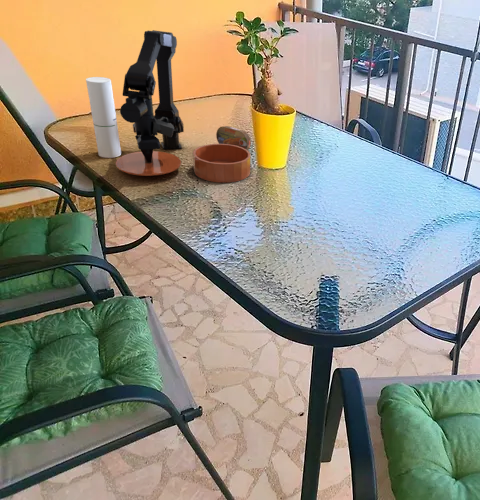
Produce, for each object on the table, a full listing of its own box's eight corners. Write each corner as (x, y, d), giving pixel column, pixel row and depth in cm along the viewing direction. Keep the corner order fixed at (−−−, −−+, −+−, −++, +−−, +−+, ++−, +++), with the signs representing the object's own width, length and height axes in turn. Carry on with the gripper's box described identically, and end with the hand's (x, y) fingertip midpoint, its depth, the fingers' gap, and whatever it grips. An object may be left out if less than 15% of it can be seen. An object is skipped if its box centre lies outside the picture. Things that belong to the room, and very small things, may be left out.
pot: (189, 162, 164) (188, 144, 160) (242, 159, 172) (242, 142, 168) (200, 184, 150) (199, 165, 146) (256, 180, 158) (257, 162, 155)
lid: (114, 155, 156) (111, 141, 153) (176, 152, 164) (174, 138, 162) (118, 179, 141) (115, 163, 139) (186, 175, 150) (185, 160, 147)
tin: (215, 145, 181) (215, 124, 176) (221, 143, 183) (221, 122, 179) (246, 155, 176) (247, 134, 171) (252, 153, 178) (252, 132, 174)
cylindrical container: (125, 152, 164) (115, 79, 151) (114, 158, 158) (103, 83, 145) (105, 149, 165) (94, 75, 152) (94, 155, 158) (81, 80, 145)
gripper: (175, 122, 140) (179, 170, 149) (166, 104, 154) (170, 149, 162) (135, 122, 136) (141, 172, 144) (130, 104, 149) (135, 150, 157)
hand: (148, 160), depth 152 cm, fingers closed on lid, 3 cm apart
